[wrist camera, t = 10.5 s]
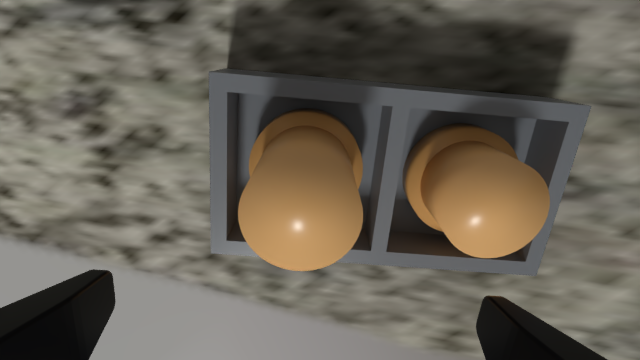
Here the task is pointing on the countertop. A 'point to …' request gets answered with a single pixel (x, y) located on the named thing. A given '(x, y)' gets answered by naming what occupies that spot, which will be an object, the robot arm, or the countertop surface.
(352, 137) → the tan pear-shaped knob
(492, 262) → the gray divided tray
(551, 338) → the robot arm
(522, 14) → the countertop surface
